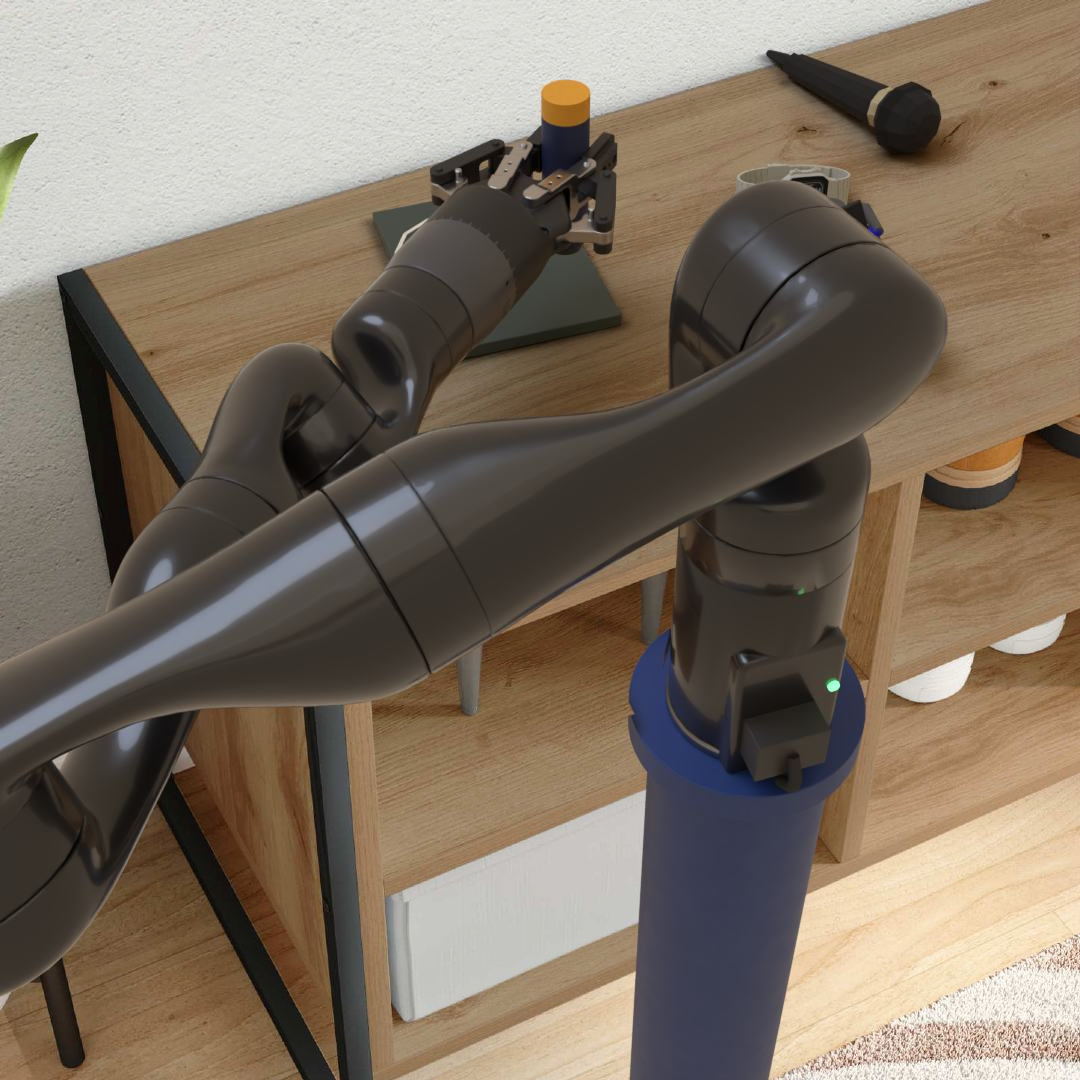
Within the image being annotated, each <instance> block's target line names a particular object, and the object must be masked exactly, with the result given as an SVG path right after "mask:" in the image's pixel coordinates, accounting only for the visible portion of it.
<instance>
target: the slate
mask: <svg viewBox="0 0 1080 1080" xmlns="http://www.w3.org/2000/svg"><path fill="white" fill-rule="evenodd" d="M540 180H541V181H542V179H540ZM439 207H440V206H436V205H434V204H433V203H432V200H430V201H425V202H420V203H415V204H414V203H413V204H409V205H404V206H399V207H394V208H389V209H384V210H379V211H373V212H372V222H373V225H374V227H375V230H376V232H377V235H378V237H379V239H380V242H381V244H382V246H383V249H384V252H385V253H386V256H387V258H388V261H390V260H391V258H392V257H393V256H394V254H395V253H396V252H397V251H398V250H399V249H400V247H401V246H402V245H403V244H404V243H405V242H406V241H407V240H408V239H409V238H410V237H411V236H412V235H413V234H414V233H415V232H416V231H417V230H418V229H419V228H420V227H421V226H422V225H423V224H424V223H425V222H426V221H427V219H428V218H429V217H430V216H431V215H432V214H433V213H434V212H435V211H436V210H437V209H438V208H439ZM621 325H622V313H621V311H620V309H619V307H618V306H617V304H616V302H615V301H614V298H613V297H612V295H611V293H610V292H609V290H608V288H607V287H606V284H605V283H604V281H603V280H602V277H601V276H600V273H599V272H598V271H597V268H596V267H595V265H594V262H593V261H592V260H591V258H590V256H589V254H588V253H587V251H586V249H585V247H584V246H583V245H582V247H581V249H580V250H579V251H578V252H577V253H574V254H571V255H559V254H554V255H553V256H551V257H550V258H549V260H548V262H547V264H546V266H545V267H544V269H543V271H542V273H541V274H540V276H539V277H538V278H537V279H536V281H535V282H534V283H533V284H532V285H531V286H530V288H529V289H528V290H527V291H526V292H525V293H524V295H523V296H522V297H521V298H520V299H519V301H518V302H517V303H516V304H515V305H514V306H513V308H512V309H511V310H510V311H509V313H508V314H507V315H506V316H505V317H504V318H503V319H502V321H501V322H500V323H499V324H498V325H497V326H496V328H495V329H494V330H493V331H492V332H491V333H490V334H489V335H488V336H487V337H486V339H484V340H483V341H482V342H481V343H480V344H478V345H477V346H476V347H475V348H473V349H472V350H471V351H470V352H469V353H468V354H467V355H466V356H465V358H464V359H463V360H465V359H469V358H475V357H478V356H479V357H480V356H482V355H483V356H484V355H488V354H491V353H492V354H493V353H497V352H502V351H506V350H510V349H516V348H520V347H525V346H529V345H534V344H539V343H543V342H548V341H554V340H558V339H562V338H566V337H571V336H576V335H580V334H585V333H590V332H595V331H600V330H604V329H608V328H613V327H617V326H621Z"/></svg>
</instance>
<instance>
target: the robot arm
mask: <svg viewBox="0 0 1080 1080" xmlns="http://www.w3.org/2000/svg"><path fill="white" fill-rule="evenodd" d="M615 141H616V137H615V134H614V133H610V132H607V131H602V132H601V134H600V135H599V136H598V137H597V138H596V139H595V141H593V143H592V144H591V145H589V149H588V150H587V151H586V152H585V153H584V154H583V155H582V156H581V160H579V161H578V162H577V163H575V164H574V165H573V166H571V167H570V168H568V169H567V170H565V169H563V168H559V169H558V170H557V171H555V172H554V173H552V174H551V175H550V176H548V177H547V178H545V179H544V180H543V181H541V180H542V179H534V173H539V174H542V143H541V125H539V126H538V127H537V128H536V129H535V130H534V131H533V132H532V133H531V135H529V136H528V138H526V139H525V140H520V141H517V142H516V143H514V145H513V146H511V145H510V146H507V145H506V143H505V141H504V140H502V139H501V138H492V139H489V140H487V141H485V142H483V143H481V144H478V145H476V146H474V147H472V148H470V149H467V150H466V151H463V152H461V153H459V154H457V155H454V156H452V157H450V158H448V159H446V160H444V161H441V162H439V163H437V164H435V165H433V166H430V168H429V186H430V187H429V188H430V195H431V201H432V203H433V204H434V205H436V206H440V207H439V208H438V209H437V210H436V211H435V212H434V213H433V214H432V215H431V216H430V217H429V218H428V219H427V221H426V222H425V223H424V224H423V225H422V226H421V227H420V228H419V229H418V230H417V231H416V232H415V233H414V234H413V235H412V236H411V237H410V238H409V239H408V240H407V241H406V242H405V243H404V244H403V245H402V246H401V247H400V249H399V250H398V251H397V252H396V253H395V254H394V256H393V257H392V258H391V260H390V261H389V260H388V261H389V262H388V263H387V264H386V266H385V267H384V269H383V270H382V272H381V273H380V274H379V275H378V276H377V277H376V278H375V279H374V280H373V281H372V282H371V284H369V286H368V287H367V288H365V290H363V292H361V294H359V296H357V298H356V299H354V301H353V302H352V303H350V305H349V306H348V307H347V308H346V309H345V310H344V312H343V313H341V315H340V316H339V318H338V319H337V321H335V324H334V326H333V328H332V331H331V335H330V336H331V337H330V349H331V351H330V352H331V355H332V359H331V357H329V356H328V355H327V354H325V353H324V352H323V351H322V350H321V349H320V348H318V347H316V346H314V345H312V344H310V343H305V342H298V341H287V342H279V343H276V344H273V345H271V346H268V347H267V348H264V349H262V350H261V351H260V352H258V353H256V354H255V355H254V356H252V357H251V358H250V359H249V360H248V361H247V362H246V363H244V365H243V366H242V367H241V368H240V369H239V371H238V372H237V373H236V374H235V376H234V377H233V379H232V380H231V381H230V384H229V385H228V387H227V389H226V390H225V392H224V394H223V396H222V399H221V401H220V403H219V405H218V407H217V409H216V412H215V415H214V418H213V421H212V422H211V423H212V424H211V426H210V429H209V431H208V432H209V433H208V434H207V438H206V441H205V444H204V445H203V448H202V452H201V453H200V456H199V458H198V460H197V463H196V465H195V466H194V469H193V471H192V472H191V474H190V475H189V477H188V478H187V480H186V481H185V482H184V483H183V484H182V486H180V487H179V489H177V491H176V492H175V493H174V494H173V496H171V498H170V499H169V500H168V501H167V502H166V504H164V506H163V507H162V508H161V509H160V510H159V511H158V512H157V513H156V515H155V516H154V517H153V518H152V519H151V520H150V521H149V522H148V523H147V525H146V526H145V527H144V528H143V530H142V531H141V532H140V533H139V534H138V536H137V537H136V538H135V540H134V541H133V542H132V544H131V545H130V546H129V548H128V549H127V551H126V553H125V555H124V557H123V558H122V560H121V563H120V564H119V567H118V569H117V572H116V574H115V577H114V579H113V582H112V585H111V588H110V591H109V593H108V597H107V601H106V604H105V608H104V612H103V613H102V614H100V615H98V616H96V617H94V618H92V619H90V620H88V621H86V622H84V623H82V624H80V625H77V626H76V627H74V628H72V629H69V630H67V631H66V632H63V633H61V634H59V635H57V636H55V637H53V638H50V639H49V640H47V641H44V642H42V643H41V644H39V645H36V646H33V647H32V648H30V649H28V650H26V651H24V652H21V653H20V654H17V655H16V656H13V657H11V658H8V659H7V660H5V661H3V662H1V663H0V997H3V996H6V995H9V994H10V993H13V992H14V991H16V990H19V989H21V988H22V987H25V986H26V985H28V984H29V983H31V982H32V981H34V980H36V978H38V977H39V976H41V975H42V974H44V973H45V972H47V971H49V970H50V969H51V968H52V967H53V966H54V965H55V964H56V963H57V962H58V961H60V960H61V959H62V957H64V956H65V955H66V954H67V953H68V952H69V951H70V950H71V949H72V948H73V947H74V946H75V944H76V943H77V942H78V941H79V939H80V938H81V937H82V936H83V935H84V933H85V932H86V931H87V930H88V928H89V927H90V926H91V924H92V923H93V922H94V921H95V919H96V918H97V916H98V914H99V913H100V912H101V910H102V909H103V907H104V906H105V904H106V902H107V900H108V899H109V897H110V895H111V893H112V892H113V890H114V888H115V886H116V885H117V883H118V881H119V880H120V877H121V876H122V874H123V872H124V870H125V868H126V867H127V864H128V862H129V861H130V858H131V856H132V854H133V852H134V851H135V848H136V846H137V844H138V842H139V840H140V837H141V835H142V834H143V831H144V830H145V827H146V825H147V823H148V822H149V819H150V817H151V815H152V813H153V810H154V808H155V807H156V804H157V802H158V801H159V799H160V797H161V795H162V793H163V791H164V789H165V787H166V785H167V783H168V781H169V779H170V777H171V775H172V773H173V770H174V768H175V767H176V764H177V762H178V760H179V758H180V755H181V753H182V751H183V750H184V747H185V745H186V743H187V741H188V739H189V736H190V734H191V732H192V730H193V728H194V725H195V724H196V721H197V718H198V717H199V715H200V712H201V711H203V710H215V709H216V710H221V709H244V708H245V709H256V708H257V709H261V708H263V709H265V708H266V709H269V708H270V709H271V708H272V709H274V708H275V709H276V708H280V709H281V708H282V709H283V708H316V707H317V708H318V707H319V708H320V707H335V706H347V705H356V704H363V703H369V702H375V701H379V700H383V699H386V698H391V697H393V696H396V695H398V694H400V693H403V692H406V691H407V690H408V689H411V688H413V687H414V686H416V685H418V684H420V683H422V682H423V681H425V680H427V679H429V677H430V675H435V674H437V673H438V672H440V671H442V670H443V669H445V668H447V667H448V666H450V665H451V664H453V663H455V662H457V661H459V660H460V659H461V658H463V657H465V656H466V655H468V654H470V653H471V652H474V650H476V649H478V648H479V647H481V646H483V645H484V644H486V643H488V642H489V641H491V640H492V639H495V637H497V636H499V635H500V634H502V633H503V632H505V631H507V630H508V629H509V628H511V627H513V626H514V625H515V624H517V623H518V622H520V621H522V620H524V619H525V618H526V617H528V616H529V615H531V614H532V613H534V612H536V611H537V610H539V609H540V608H541V607H543V606H544V605H546V604H548V603H549V602H550V601H552V600H554V599H556V598H557V597H560V595H562V594H564V593H566V592H567V591H569V590H570V589H572V588H574V587H575V586H577V585H578V584H580V583H582V582H583V581H586V580H587V579H589V578H591V577H592V576H594V575H596V574H597V573H599V572H601V571H602V570H604V569H606V568H607V567H610V566H611V565H613V564H614V563H616V562H617V561H619V560H621V559H623V558H624V557H626V556H628V555H630V554H632V553H634V552H635V551H638V550H639V549H641V548H643V547H644V546H646V545H647V544H649V543H651V542H653V541H654V540H657V539H658V538H660V537H662V536H664V535H665V534H667V533H670V532H671V531H673V530H674V529H676V528H677V543H676V557H675V558H676V559H675V571H674V587H673V599H672V616H671V627H670V629H671V630H670V634H669V637H668V641H667V644H666V648H665V651H664V662H663V668H664V664H665V661H666V657H667V654H668V650H669V647H670V664H669V673H668V676H667V683H666V705H667V709H668V713H669V715H670V718H671V720H672V722H673V724H674V725H675V727H676V728H677V730H678V731H679V732H680V733H681V735H682V736H683V737H684V738H685V739H686V740H687V741H688V742H689V743H691V744H692V745H693V746H694V747H696V748H697V749H699V750H700V751H702V752H704V753H706V754H708V755H710V756H712V757H714V758H717V759H718V760H719V761H720V762H721V764H722V765H723V768H724V770H725V771H726V772H727V773H729V774H733V773H737V772H740V771H744V770H748V769H749V771H750V773H751V775H752V777H753V779H754V781H755V782H756V781H759V780H763V779H766V778H770V777H774V776H776V777H775V784H776V785H777V786H778V787H780V788H782V789H784V790H785V791H787V792H795V791H797V790H798V789H799V788H800V786H801V783H802V770H801V769H802V768H806V767H809V766H813V765H816V764H820V763H824V762H825V759H826V754H827V749H828V744H829V739H830V733H831V724H832V719H833V714H834V709H835V704H836V699H837V694H838V689H839V687H840V678H841V673H842V668H843V663H844V658H846V654H847V653H846V652H847V647H848V640H847V639H848V638H847V637H846V635H845V634H844V632H843V625H844V621H845V615H846V609H847V604H848V599H849V593H850V590H851V589H850V588H851V583H852V578H853V572H854V567H855V562H856V558H857V557H856V556H857V552H858V548H859V543H860V537H861V533H862V528H863V527H862V526H863V522H864V516H865V511H866V506H867V502H868V496H869V492H870V491H869V490H870V487H871V486H870V485H871V478H872V459H871V453H870V449H869V445H868V442H867V440H866V438H865V435H864V434H865V433H866V432H868V431H870V430H871V429H872V428H874V427H876V426H877V425H879V424H880V423H881V422H882V421H884V420H885V419H887V418H888V417H889V416H891V415H892V414H893V413H895V412H896V411H897V410H898V409H899V408H900V407H901V406H902V405H904V404H905V403H906V402H907V401H908V400H909V399H910V398H911V397H912V395H913V394H915V392H916V391H917V390H918V389H919V388H920V387H921V386H922V385H923V383H924V382H925V381H926V380H927V379H928V377H929V376H930V375H931V373H932V372H933V370H934V369H935V367H936V365H937V364H938V362H939V360H940V358H941V355H942V353H943V350H944V348H945V345H946V341H947V338H948V333H949V332H948V331H949V323H948V316H947V315H948V314H947V310H946V307H945V305H944V303H943V301H942V299H941V297H940V295H939V294H938V293H937V291H936V290H935V289H934V288H933V286H932V285H931V284H930V282H928V281H927V280H926V279H925V277H924V276H923V275H922V274H921V273H920V272H919V271H918V270H917V269H916V268H915V267H913V266H912V265H911V264H910V263H909V262H907V261H906V260H905V258H903V257H902V256H901V255H899V253H897V252H896V251H895V250H894V249H892V248H891V246H889V245H888V244H887V243H886V242H885V241H883V240H882V239H881V240H882V241H881V240H880V239H879V238H878V237H876V236H875V235H874V234H873V233H872V232H870V231H869V230H868V229H867V228H866V227H864V226H863V225H862V224H861V223H860V222H858V221H857V220H856V219H855V218H853V217H852V216H851V215H849V214H848V213H847V212H846V211H845V210H843V209H842V208H841V207H840V206H839V205H837V204H836V203H835V202H834V201H833V200H831V199H830V198H829V197H827V196H826V195H825V194H823V193H822V192H820V191H818V190H817V189H815V188H813V187H811V186H809V185H806V184H804V183H800V182H795V181H790V180H771V181H765V182H761V183H758V184H754V185H752V186H749V187H747V188H744V189H742V190H741V191H739V192H737V193H734V194H732V195H731V196H729V197H728V198H726V199H725V200H724V201H723V202H721V203H720V204H719V205H718V206H717V207H716V208H715V209H714V210H713V211H711V213H710V214H709V215H708V216H707V217H706V219H705V220H704V221H703V222H702V224H701V225H700V226H699V227H698V229H697V230H696V232H695V234H694V235H693V237H692V238H691V240H690V241H689V244H688V246H687V248H686V250H685V252H684V254H683V257H682V259H681V262H680V264H679V266H678V270H677V273H676V275H675V280H674V283H673V287H672V292H671V299H670V305H669V306H670V308H669V316H668V317H669V318H668V319H669V320H668V342H667V343H668V345H667V346H668V347H667V348H668V350H667V351H668V352H667V353H668V355H667V357H668V358H667V359H668V363H667V364H668V365H667V366H668V367H667V369H668V370H667V371H668V389H667V390H665V391H663V392H659V393H657V394H655V395H653V396H651V397H648V398H645V399H641V400H638V401H635V402H632V403H629V404H626V405H625V404H624V405H622V406H620V405H619V406H617V407H616V406H615V407H611V408H607V409H602V410H596V411H586V412H577V413H568V414H565V413H564V414H553V415H537V416H526V417H525V416H524V417H513V418H501V419H492V420H481V421H471V422H464V423H459V424H453V425H447V426H442V427H438V428H432V429H429V430H427V431H423V432H420V428H421V425H422V423H423V421H424V419H425V416H426V414H427V411H428V409H429V407H430V405H431V403H432V400H433V398H434V396H435V395H436V393H437V391H438V390H439V388H440V387H441V386H442V385H443V383H444V382H445V381H446V380H447V379H448V378H449V377H450V375H451V374H452V373H453V372H454V371H455V369H456V368H457V367H458V366H459V365H460V363H462V361H463V360H465V359H466V358H465V356H466V355H467V354H468V353H469V352H470V351H471V350H472V349H473V348H475V347H476V346H477V345H478V344H480V343H481V342H482V341H483V340H484V339H486V337H487V336H488V335H489V334H490V333H491V332H492V331H493V330H494V329H495V328H496V326H497V325H498V324H499V323H500V322H501V321H502V319H503V318H504V317H505V316H506V315H507V314H508V313H509V311H510V310H511V309H512V308H513V306H514V305H515V304H516V303H517V302H518V301H519V299H520V298H521V297H522V296H523V295H524V293H525V292H526V291H527V290H528V289H529V288H530V286H531V285H532V284H533V283H534V282H535V281H536V279H537V278H538V277H539V276H540V274H541V273H542V271H543V269H544V267H545V266H546V264H547V262H548V260H549V258H550V257H551V256H553V255H554V254H556V253H558V252H561V251H563V250H565V249H566V248H567V247H568V246H569V245H570V243H571V242H574V243H584V244H593V246H592V247H593V253H595V254H597V255H602V256H605V255H608V254H610V253H611V252H612V251H613V244H614V231H615V222H616V221H615V219H616V209H617V177H618V176H617V173H616V171H615V170H614V169H615V168H616V167H617V166H618V165H617V164H618V142H615ZM484 162H487V166H486V167H484V168H482V169H480V166H481V164H483V163H484ZM613 170H614V171H613ZM592 200H593V201H595V202H594V206H593V205H589V207H588V213H586V214H584V215H583V216H582V219H581V220H579V221H577V222H571V221H572V220H573V219H574V218H575V217H576V215H577V213H578V210H579V209H580V208H581V207H582V206H583V205H585V204H586V203H587V202H590V201H592ZM464 358H465V359H464ZM333 361H334V362H333ZM419 432H420V433H419ZM63 755H66V756H65V757H64V760H63V762H62V763H61V765H60V767H59V768H58V766H57V765H56V764H55V763H54V760H56V759H58V758H60V757H62V756H63ZM784 773H788V775H789V777H788V776H786V775H783V774H784Z"/></svg>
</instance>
